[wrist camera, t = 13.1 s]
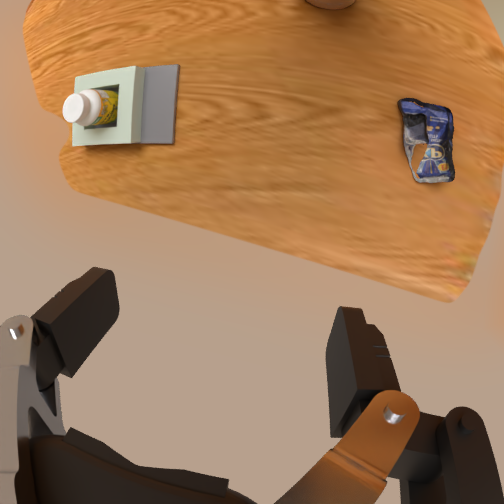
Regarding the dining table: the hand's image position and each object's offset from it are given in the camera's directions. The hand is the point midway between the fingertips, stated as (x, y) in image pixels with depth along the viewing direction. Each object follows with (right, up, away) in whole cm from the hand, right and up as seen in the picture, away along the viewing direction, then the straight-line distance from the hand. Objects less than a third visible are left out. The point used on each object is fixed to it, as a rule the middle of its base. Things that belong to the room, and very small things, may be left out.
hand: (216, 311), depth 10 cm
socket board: (-18, +24, +28) cm, 42 cm away
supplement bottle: (-21, +24, +28) cm, 42 cm away
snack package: (+26, +19, +25) cm, 41 cm away
